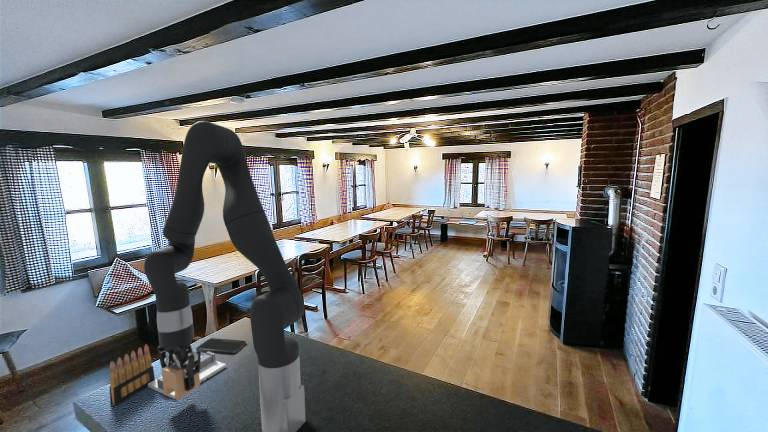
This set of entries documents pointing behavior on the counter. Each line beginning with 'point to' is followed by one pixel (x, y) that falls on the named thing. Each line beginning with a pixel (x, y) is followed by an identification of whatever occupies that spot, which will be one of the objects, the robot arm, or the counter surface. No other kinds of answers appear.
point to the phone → (221, 346)
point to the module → (176, 381)
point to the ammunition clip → (130, 376)
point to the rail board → (206, 370)
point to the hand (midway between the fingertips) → (182, 386)
